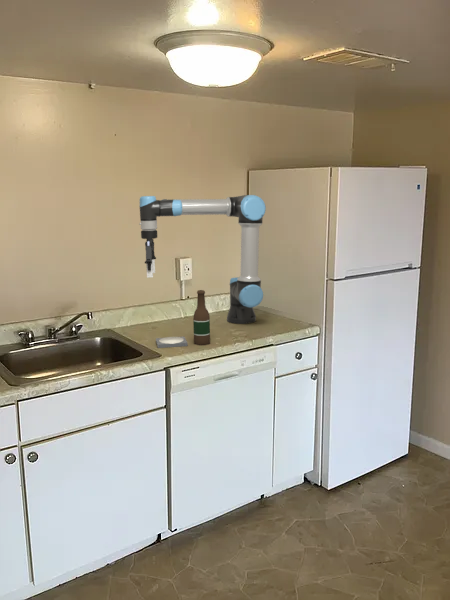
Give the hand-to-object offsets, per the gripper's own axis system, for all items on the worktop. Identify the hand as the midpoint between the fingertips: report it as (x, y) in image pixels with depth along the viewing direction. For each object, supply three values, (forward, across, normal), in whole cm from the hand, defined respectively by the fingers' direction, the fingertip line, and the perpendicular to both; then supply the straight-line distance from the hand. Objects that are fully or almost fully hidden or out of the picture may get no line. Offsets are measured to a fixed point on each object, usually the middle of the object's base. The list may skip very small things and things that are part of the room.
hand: (151, 275), depth 261 cm
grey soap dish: (+28, +19, +9) cm, 35 cm away
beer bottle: (+29, +19, +23) cm, 42 cm away
